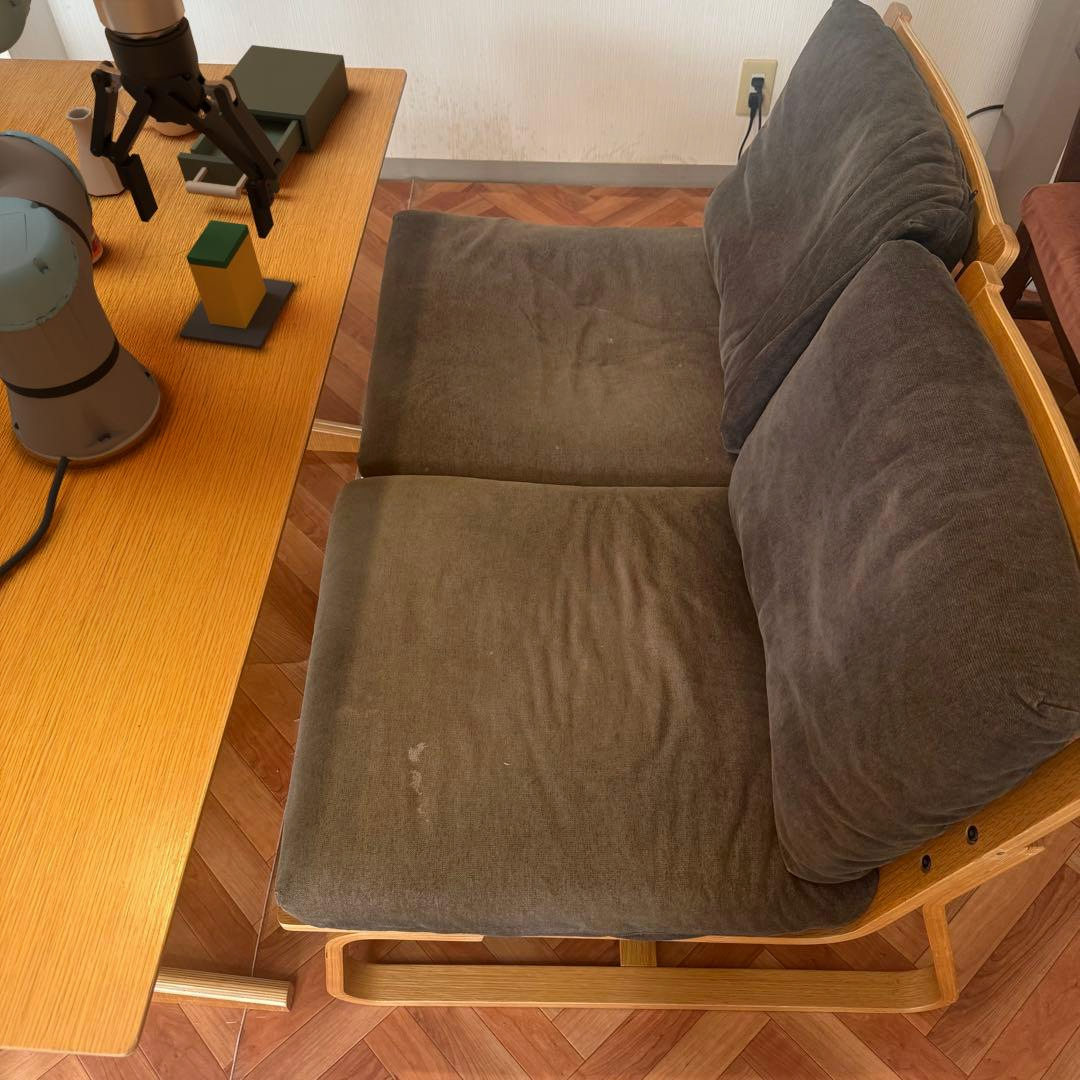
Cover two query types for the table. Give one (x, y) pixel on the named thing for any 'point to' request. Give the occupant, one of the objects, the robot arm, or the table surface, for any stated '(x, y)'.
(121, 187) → the flask
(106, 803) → the table surface
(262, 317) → the mat
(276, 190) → the drawer
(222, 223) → the sponge
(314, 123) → the cabinet
